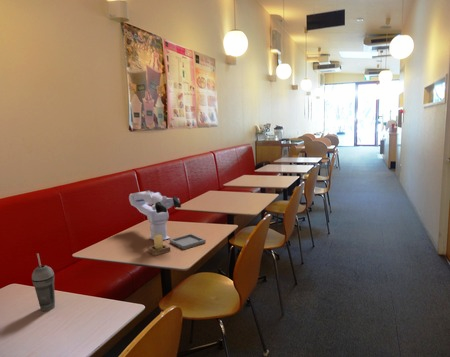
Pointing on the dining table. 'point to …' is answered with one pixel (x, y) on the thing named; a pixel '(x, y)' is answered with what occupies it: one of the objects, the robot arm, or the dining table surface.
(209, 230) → the dining table surface
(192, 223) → the dining table surface
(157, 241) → the pin
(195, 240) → the tray
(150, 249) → the socket block
